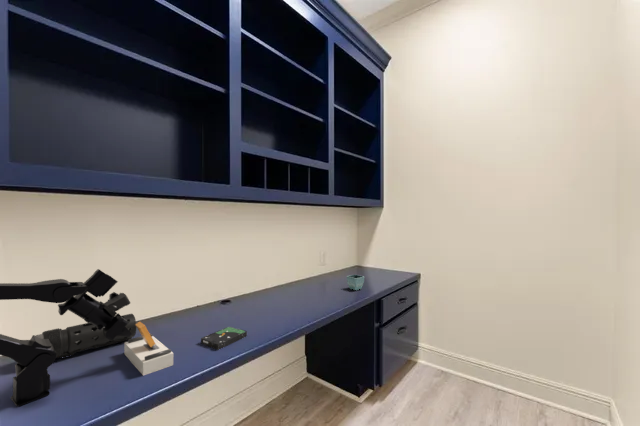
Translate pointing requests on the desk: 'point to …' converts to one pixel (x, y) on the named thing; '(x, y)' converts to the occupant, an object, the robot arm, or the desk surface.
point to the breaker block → (148, 355)
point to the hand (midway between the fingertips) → (130, 334)
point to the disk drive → (223, 337)
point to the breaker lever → (145, 334)
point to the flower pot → (355, 281)
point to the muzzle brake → (83, 337)
